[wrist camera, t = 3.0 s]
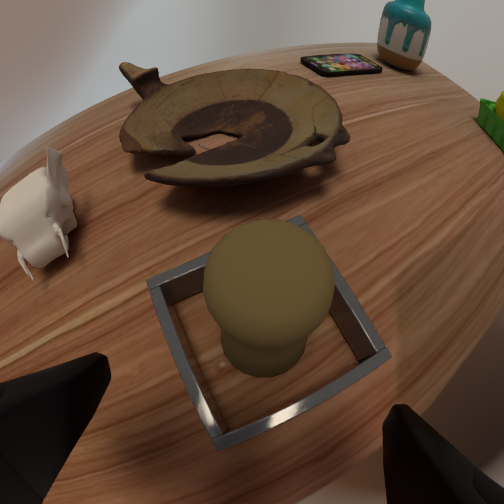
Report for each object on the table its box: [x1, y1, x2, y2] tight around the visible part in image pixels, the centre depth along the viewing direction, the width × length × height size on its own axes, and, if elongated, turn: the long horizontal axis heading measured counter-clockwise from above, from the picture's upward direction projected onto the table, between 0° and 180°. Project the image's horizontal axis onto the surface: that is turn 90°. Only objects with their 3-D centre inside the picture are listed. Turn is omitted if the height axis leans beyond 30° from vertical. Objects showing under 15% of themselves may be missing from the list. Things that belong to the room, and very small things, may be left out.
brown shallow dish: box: [119, 62, 350, 187], centre depth 28 cm, size 22×30×8 cm
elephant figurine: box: [0, 146, 77, 281], centre depth 20 cm, size 10×12×9 cm
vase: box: [377, 0, 431, 70], centre depth 37 cm, size 11×11×19 cm
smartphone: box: [301, 54, 382, 76], centre depth 41 cm, size 8×1×15 cm
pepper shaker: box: [203, 219, 335, 377], centre depth 15 cm, size 6×6×11 cm
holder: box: [146, 215, 392, 451], centre depth 18 cm, size 12×12×4 cm
